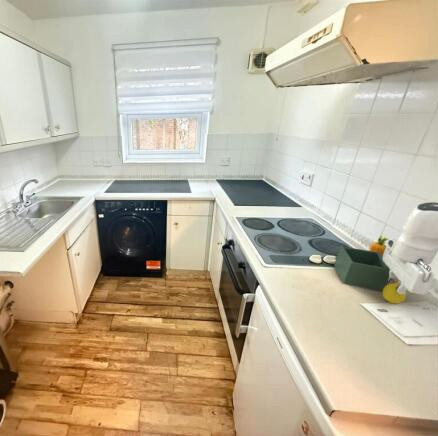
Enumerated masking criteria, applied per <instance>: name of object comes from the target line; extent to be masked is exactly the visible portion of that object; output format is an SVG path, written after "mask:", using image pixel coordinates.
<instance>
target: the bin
mask: <svg viewBox="0 0 438 436" xmlns="http://www.w3.org/2000/svg"><path fill="white" fill-rule="evenodd" d="M333 265H334V266H333V267H334V269H335V270H336V272H337V274H338V276H339V278H340V281H342V284H344V285H349V286H354V287H359V288H364V289H368V290H373V291H378V292H382V293H383V289H384V287H385V286H386V285H388V284H390V282H389V281H388V279H389V271H390V268H389V267H388V266H387V265H386V264H385V263H384V262H383V256H382V255H381V254H380V253H379V252H373V251H369V250H368V249H367V250H366V249H361V248H353V247H350V246H349V247H347V246H340V248H339V251H338V254H337V256H336V259H335V262H334V264H333Z"/></svg>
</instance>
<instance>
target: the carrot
mask: <svg viewBox="0 0 438 436" xmlns="http://www.w3.org/2000/svg"><path fill="white" fill-rule="evenodd" d="M388 239H389V238H387V237H386V236H385V237H383V235H381V234H380V235H379V237H378V239H377V242H372V243H371V244H370V247H369V248H368V249H369V250H368V251H373V252H379V253H380V254H381V255H382V256H383V254H384V251H385V249H386V247H387V244H386V242H387V241H388Z"/></svg>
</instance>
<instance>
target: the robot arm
mask: <svg viewBox="0 0 438 436" xmlns="http://www.w3.org/2000/svg"><path fill="white" fill-rule="evenodd" d="M387 239H388V240H386V249H385V251H384V254H383V262H384V263H385V264H386V265H387V266H388V267H389V268H390V271H389V279H388V281H389V284H390V283H399V281H400V285H401V286H397V287H396V291H397V292H398V293H399V294H405V292H406V293H407V291H408V292H409V293H413V294H416V295H421V296H424V295H426V294H428V293H429V291H430V289H431V287H432V284H433V282H434V277H435V276H434V275H435V274H434V272H433V271H432V267H431V266H430V264H432V262H433V260H434V259H435V258H436V256H437V253H438V202H435V201H433V202H432V201H431V202H424V203H419V204H418V205H416V206H415V207H414V208H413V209H412V210H411V211H410V213H409V215H408V217H407V218H406V220H405V222H404V224H403V227H402V232H401V235H399V237H398V238H397V239H395V238H387Z"/></svg>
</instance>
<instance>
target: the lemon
mask: <svg viewBox="0 0 438 436" xmlns="http://www.w3.org/2000/svg"><path fill="white" fill-rule="evenodd" d="M397 286H401V283H399V282H397V283H390V282H389V284H388V285H386V286H385V287H384V289H383V292H382V296H383V298H384V300H386V301H387V302H388V303H389V304H401V303H403V302H404V301H405V300H406V298H407V291H406V292H405V294H399V293H398V292H397V291H396V287H397Z"/></svg>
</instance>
